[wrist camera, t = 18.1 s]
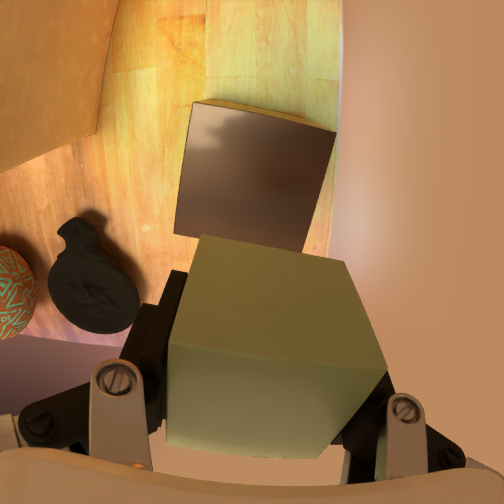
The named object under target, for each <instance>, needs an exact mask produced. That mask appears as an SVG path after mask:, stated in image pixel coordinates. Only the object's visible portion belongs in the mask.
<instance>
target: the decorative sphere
mask: <svg viewBox="0 0 504 504" xmlns="http://www.w3.org/2000/svg"><path fill="white" fill-rule="evenodd" d="M36 300H37V290H36V284H35V279H34V276H33V274H32V271H31V269H30V267H29V266H28V264H27V263H26V261H25V260H24V259H23V258H22V257H21V256H20V255H19V254H18V253H17V252H15V251H14V250H12V249H10V248H8V247H5V246H1V245H0V340H2V339H3V340H4V339H7V338H11V337H13V336H15V335H17V334H18V333H20V332H21V331H22V330H23V329H24V328H25V327H26V326H27V324H28V323H29V321H30V320H31V318H32V316H33V313H34V310H35V307H36Z"/></svg>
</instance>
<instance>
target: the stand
mask: <svg viewBox="0 0 504 504" xmlns="http://www.w3.org/2000/svg"><path fill="white" fill-rule="evenodd" d="M336 134H337V133H336V132H334V131H332V130H330V129H328V128H326V127H324V126H322V125H320V124H318V123H316V122H314V121H312V120H310V119H306V118H302V117H298V116H294V115H290V114H286V113H282V112H277V111H273V110H268V109H264V108H259V107H254V106H249V105H244V104H239V103H233V102H227V101H222V100H216V99H207V100H202V101H196V102H193V104H192V109H191V115H190V121H189V126H188V132H187V138H186V144H185V150H184V157H183V163H182V170H181V177H180V184H179V191H178V198H177V206H176V214H175V223H174V231H173V233H174V234H177V235H183V236H188V237H194V238H199V239H200V236H201V235H202V234H204V235H210V236H215V237H220V238H225V239H231V240H236V241H241V242H247V243H252V244H257V245H262V246H268V247H273V248H278V249H283V250H288V251H294V252H299V253H302V250H303V247H304V243H305V240H306V237H307V234H308V231H309V227H310V224H311V221H312V217H313V214H314V211H315V208H316V204H317V201H318V197H319V194H320V191H321V187H322V184H323V180H324V177H325V173H326V170H327V166H328V163H329V159H330V156H331V152H332V149H333V145H334V141H335V138H336Z"/></svg>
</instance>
